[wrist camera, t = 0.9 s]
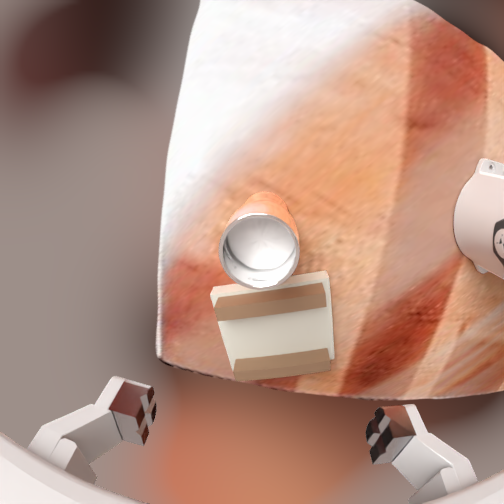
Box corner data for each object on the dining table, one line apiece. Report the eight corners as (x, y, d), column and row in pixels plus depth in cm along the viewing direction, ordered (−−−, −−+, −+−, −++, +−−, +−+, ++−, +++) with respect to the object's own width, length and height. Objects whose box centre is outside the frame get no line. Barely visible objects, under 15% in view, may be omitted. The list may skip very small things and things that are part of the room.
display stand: (326, 270, 39) (333, 287, 34) (332, 349, 44) (337, 371, 38) (213, 286, 41) (205, 305, 36) (234, 361, 46) (230, 383, 41)
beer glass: (264, 250, 39) (258, 307, 25) (227, 214, 38) (198, 251, 24) (302, 215, 37) (320, 254, 23) (265, 176, 36) (259, 191, 22)
